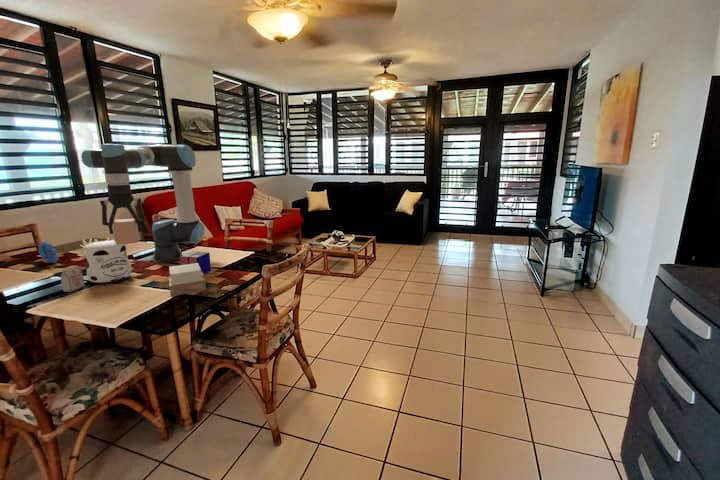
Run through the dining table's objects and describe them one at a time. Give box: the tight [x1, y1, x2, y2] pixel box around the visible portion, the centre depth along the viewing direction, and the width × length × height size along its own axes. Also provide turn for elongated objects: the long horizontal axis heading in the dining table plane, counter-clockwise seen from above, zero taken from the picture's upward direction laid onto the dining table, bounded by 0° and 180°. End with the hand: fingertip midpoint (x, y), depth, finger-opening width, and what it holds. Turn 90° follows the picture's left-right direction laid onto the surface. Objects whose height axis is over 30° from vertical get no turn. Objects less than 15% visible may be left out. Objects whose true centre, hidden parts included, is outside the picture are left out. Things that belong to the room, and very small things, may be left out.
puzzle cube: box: [179, 250, 212, 275], centre depth 172 cm, size 10×10×10 cm
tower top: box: [168, 263, 202, 285], centre depth 151 cm, size 12×12×5 cm
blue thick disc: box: [37, 241, 59, 264], centre depth 184 cm, size 12×7×12 cm, turn 79°
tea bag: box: [60, 265, 86, 293], centre depth 150 cm, size 4×7×10 cm, turn 173°
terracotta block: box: [113, 218, 139, 245], centre depth 137 cm, size 7×7×9 cm
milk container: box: [84, 239, 132, 285], centre depth 160 cm, size 17×17×18 cm
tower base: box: [168, 272, 207, 297], centre depth 153 cm, size 14×14×5 cm
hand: (127, 240), depth 138 cm, fingers closed on terracotta block, 7 cm apart
